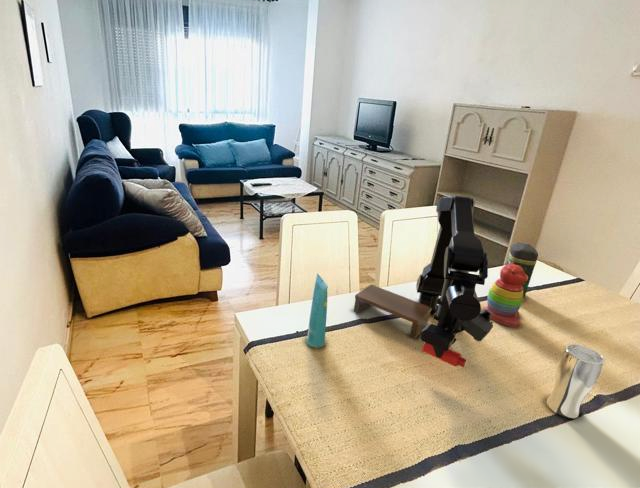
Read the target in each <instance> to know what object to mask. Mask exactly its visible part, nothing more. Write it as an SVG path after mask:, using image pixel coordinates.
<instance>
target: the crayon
mask: <svg viewBox="0 0 640 488" xmlns="http://www.w3.org/2000/svg"><path fill="white" fill-rule="evenodd" d="M421 351H422V353H424V354H427V355H429V356H432V357H433V358H436V359H438V360H439V361H442V362H444V363H447V364H448V365H451V366H453V367H455V368H457V367H458V366H459V367H461V368H465V366H466V364H467V358H465V357H462V353H460V352H458V351H456V350H452V349H451V348H450V349H449V350H448V351H444V353H443V355H442V357H441V358H438V357H436V355H435V352H434V349H433V346H432V345H430V344H427V343H425V342H423V346H422V350H421Z"/></svg>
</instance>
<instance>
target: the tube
mask: <svg viewBox="0 0 640 488" xmlns="http://www.w3.org/2000/svg"><path fill="white" fill-rule="evenodd" d="M328 287H329V285H328V284H327V283H326V282H325V280H324V279H323V278H322V276H321V275H320V274H319V272H317V273H316V277H315V283H314V287H313V293H312V301H311V306H310V314H309V320H308V321H309V322H308V328H307V335H306V336H307V337H306V343H307V345H308V346H309V347H311V348H316V349H318V348H322V347H324V345H325V344H326V331H327V330H326V329H327V317H328V316H327V313H328Z"/></svg>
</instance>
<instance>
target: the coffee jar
mask: <svg viewBox="0 0 640 488" xmlns="http://www.w3.org/2000/svg"><path fill="white" fill-rule="evenodd" d="M538 257H539V252H538V250H537V249H535V247H533V246H532V245H531V244H530V243H523V242H516V243H513V244H512V245H511V246H510V249H509V252H508V256H507V260H506V263H505V266H506V265H509V264H510V263H511V262H514V264H515V265H518V266H520V267H521V268H522V269H523V270H524V273H525V274H526V275H527V276H528V280H527V281H526V282H525V283H523V284H521V285H522V286H523V300H524V299H525V298H526V295H527V291H528V288H529V284H530V282H531V279H532V276H533V272H534V269H535V267H536V264H537V261H538Z"/></svg>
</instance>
